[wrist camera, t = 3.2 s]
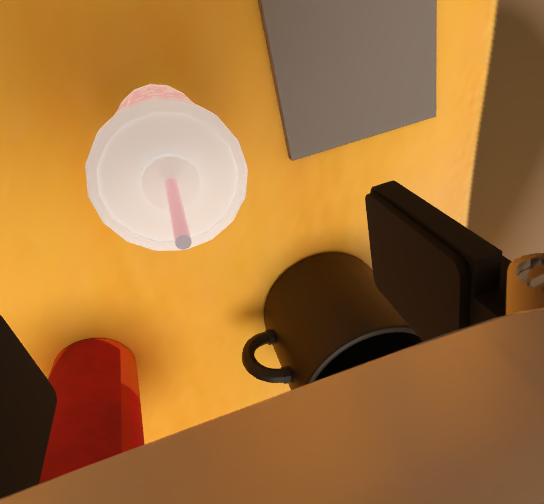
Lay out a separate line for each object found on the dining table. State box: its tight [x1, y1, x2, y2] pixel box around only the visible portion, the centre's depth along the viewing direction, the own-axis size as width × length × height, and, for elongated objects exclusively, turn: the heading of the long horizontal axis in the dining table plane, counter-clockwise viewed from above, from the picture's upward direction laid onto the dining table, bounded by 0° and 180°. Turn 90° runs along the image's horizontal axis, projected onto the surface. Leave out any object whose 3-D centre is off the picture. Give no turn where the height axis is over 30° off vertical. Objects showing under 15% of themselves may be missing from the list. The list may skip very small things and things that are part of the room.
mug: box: [242, 253, 423, 390], centre depth 30 cm, size 9×12×9 cm
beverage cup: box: [85, 84, 248, 251], centre depth 18 cm, size 6×6×14 cm
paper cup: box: [39, 338, 144, 484], centre depth 25 cm, size 8×8×14 cm
